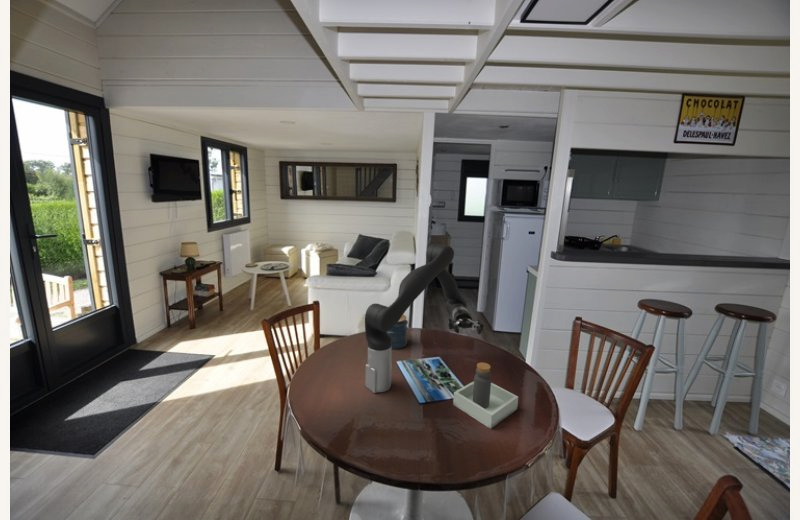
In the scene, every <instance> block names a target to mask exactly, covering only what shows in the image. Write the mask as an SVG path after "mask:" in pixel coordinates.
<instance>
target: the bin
mask: <svg viewBox="0 0 800 520" xmlns="http://www.w3.org/2000/svg"><path fill="white" fill-rule="evenodd" d="M473 388H474V380H473V381H472V382H470V383H468V384H466V385H465V386H463V387H461V388H459V389H457V390H456V391H454V392H453V402H452V405H453V406H454V407H456V408H457V409H459V410H461V411H463V412H464V413H465V414H467V415H468V416H470V417H472V418H473V419H475V420H476V421H478V422H479V423H481V424H482V425H484V426H485V427H487V428H488V429H490V430H491V429H493V428H495V426H497V425H499V424H500V423H501V422H502V421H504V420H505V419H507V418H508V417H509V416H510V415H512V414H513V413H515V411H517V410H518V404H519V396H518V395H516V394H514V393H512V392H510V391H508V390H506V389H505V388H502V387H501V386H499V385H497V384H495V383H494V382H491V389H490V400H489V406H488V408H485V409H484V408H482V407H481V406H479V405H477V404H476V403H474V402H473Z"/></svg>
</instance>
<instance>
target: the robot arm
mask: <svg viewBox="0 0 800 520" xmlns="http://www.w3.org/2000/svg"><path fill="white" fill-rule="evenodd" d="M425 256H426V260H427V263H426V264H423V265H421V266H418V267H416V268H415V269H412V270H411V271H409V273H408V274H407V275H406V276H405V277H404V278H403V279H402V280H401V282H400V283H399V287H398V294H397V298H396V299H395V300H394V302H392V304H390V305H389V306H387V305H383V304H379V303H375V302H374V303H371V304H370V305H369V306H368V308H367V309H366V311H365V315H364V329H365V330H364V331H365V332H364V333H365V340H366V342H367V363H365V387H366V388H367V389H368V390H369V391H370V392H372V393H374V394H376V393H384V392H386V391H387V392H388V390H390V389H391V385H392V351H393V349H392V340H391V337H390V336H389V335H388V334H387V333H386V332H388V331H390V330H391V329H392V328H393V327H394V326H395V325H396V324H397V322H398V321H399V320H400V318H401V317H402V315H405V313H406V311H407V310H408V309H409V308H410V306H411V305H412V304H413V302H414V301H416V299H417V298H418V297H419V296H420V295H421V294H422V293H423V292H424V290H426V288H427V287H428V286H429V285H430V283H431V282H432V281H433V280H434V279H435V278H436V277H437V279H438V280H439V283H440V285H441V287H442V291H443V294H444V296H445V298H446V299H448V300H447V301H446V302H445V304H444V306H445V310H446V311H447V313H448V314H449V315H451V316H452V318H448V323H447V326H448V329H449V330H452V329H453V331H454V332H455V333H456V334H459V333H460V329H461V330H464V329H470V330H471V331H476V333H477V335H481V334H482V332H483V331H484V326H485V325H484V323H483V322H482V320H481V319H477V320H476V321H474V319H473V318H472V316H471V314H470V312H469V311H468V309H467V307H468V304H467V301H466V299H465V298H464V296H463V295H462V294H461V292H460V290H459V287H458V285H457V284H458V283H457V282H456V279H455V278H454V277H453V275H451V273H449V271H448V270H447V269H446V268H447V267H449V266H450V264H452V261H453V260H454V256H455V251H454V249H453V247H451V246H450V245H447V244H436V243H432V244H430V245H429V246H428V247H427V248H426V253H425Z"/></svg>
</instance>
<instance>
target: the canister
mask: <svg viewBox="0 0 800 520" xmlns="http://www.w3.org/2000/svg"><path fill="white" fill-rule="evenodd" d="M408 324H409V321H408V320H407V315H405V314H403V315H402V317H401V318H400V320H399V321H398V322H397V324H396V325H395V326H394V327H393V328H392V329H391V330H390V331H388V332H386V333H387V334H388V335H389V336H390V337H391V340H392V350H399V349H404V348H405V347H406V346H407V344H408V330H409V329H408V328H409V327H408Z"/></svg>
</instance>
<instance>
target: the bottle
mask: <svg viewBox="0 0 800 520" xmlns="http://www.w3.org/2000/svg"><path fill="white" fill-rule="evenodd" d="M491 373H492V370H491V365H490V364H489V363H488V362H487V363H486V362H478V363H477V364H476V369H475V374H474V377H473V381H474V388H473V402H474V403H476V404H477V405H479V406H481V407H482V408H484V409H485V408H488V406H489V400H490V389H491V383H492V377H491Z"/></svg>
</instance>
